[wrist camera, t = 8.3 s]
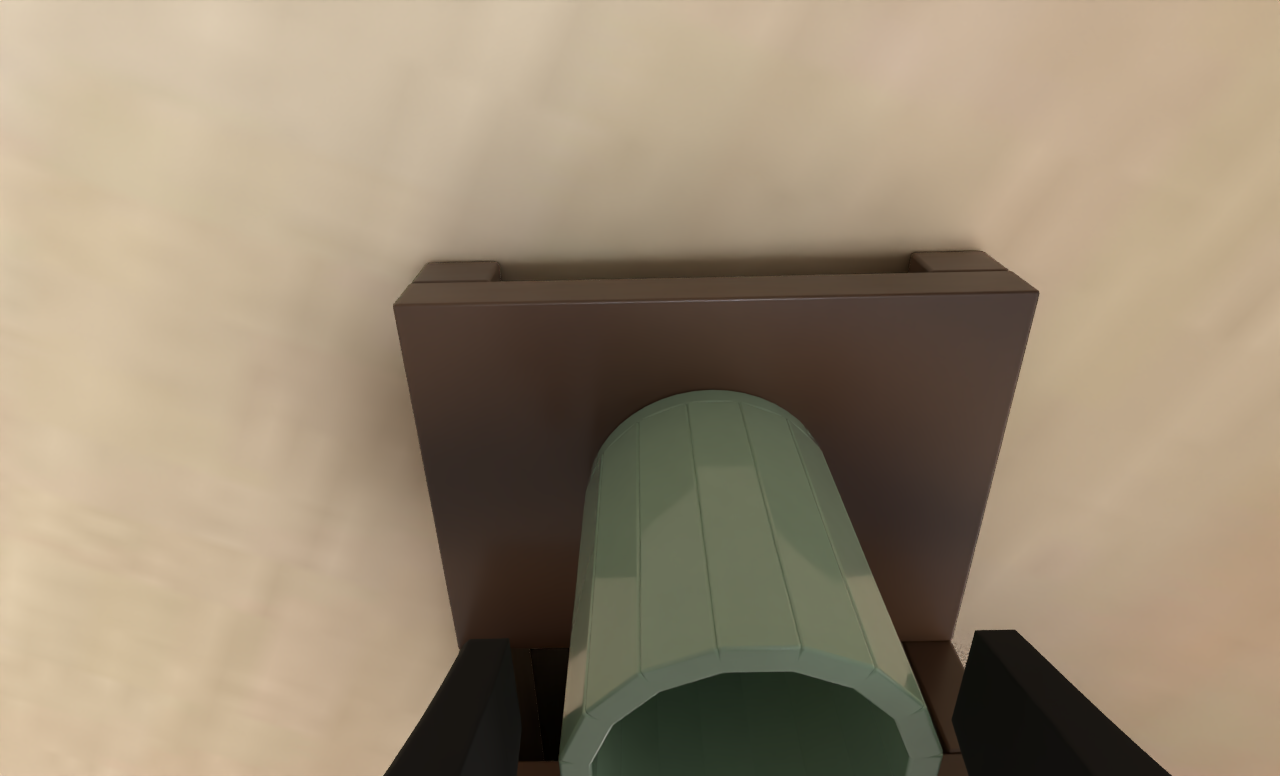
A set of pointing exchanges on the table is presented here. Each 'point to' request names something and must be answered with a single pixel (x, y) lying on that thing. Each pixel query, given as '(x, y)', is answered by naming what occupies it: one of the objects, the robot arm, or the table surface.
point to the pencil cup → (731, 609)
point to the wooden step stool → (712, 360)
